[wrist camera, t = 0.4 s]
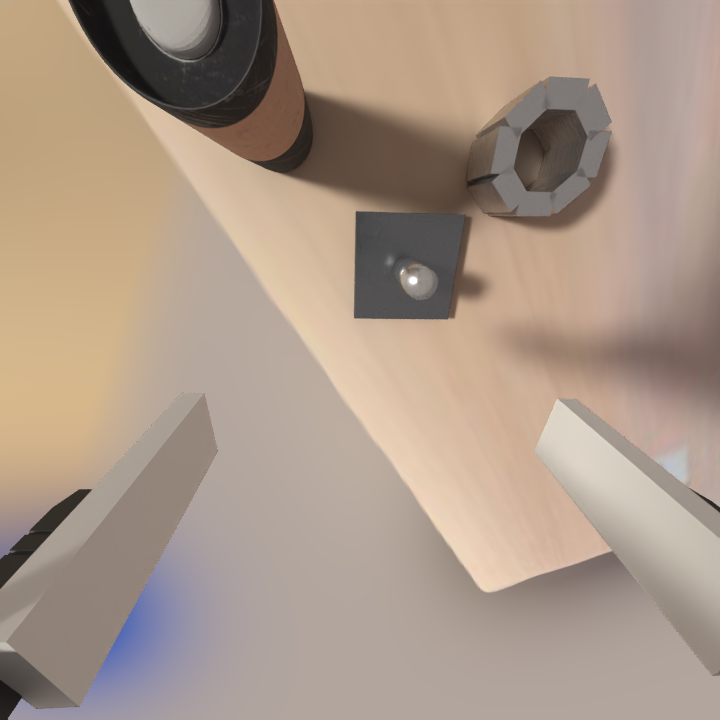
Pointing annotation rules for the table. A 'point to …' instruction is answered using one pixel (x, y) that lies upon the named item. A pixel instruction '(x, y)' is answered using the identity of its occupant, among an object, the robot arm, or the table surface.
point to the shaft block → (405, 264)
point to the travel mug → (209, 70)
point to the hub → (559, 140)
